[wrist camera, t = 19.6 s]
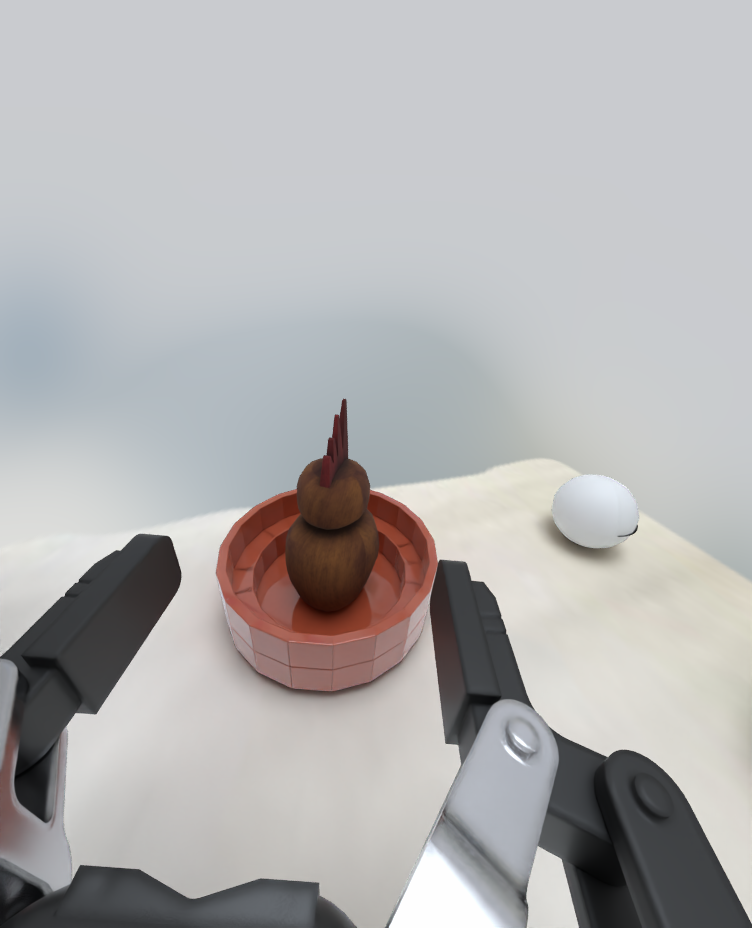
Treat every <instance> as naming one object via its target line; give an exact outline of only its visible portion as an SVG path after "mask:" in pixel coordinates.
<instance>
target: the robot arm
mask: <svg viewBox="0 0 752 928" xmlns="http://www.w3.org/2000/svg"><path fill="white" fill-rule="evenodd" d="M180 582H181V569H180V566H179V563H178V559H177V556H176V553H175V550H174V546H173V543H172V540H171V538H170V537H168V536H162V535H150V534H138V535H136V536H135V537H134V538H133V539H132V540H131V541H130V542H129V543H128V544H127V545H126V546H125V547H124V548H123V549H122V550H121V551H117V550H116V551H114V552H113V553H111V554H110V555H108V556H106V557H105V558H103V559H102V560H100V561H98V562H97V563H95V564H94V565H93V566H92V567H91V568H90V569H89V570H88V571H87V572H86V573H85V574H84V575H83V576H82V577H81V578H80V579H79V582H78V583H75V584H74V585H73V586H72V587H71V588H70V589H69V590H68V591H67V592H66V593H65V596H64V597H61V598H60V599H59V600H58V601H57V602H56V603H55V604H54V605H53V606H52V607H51V608H50V609H49V610H48V611H47V612H46V613H45V614H44V615H43V616H42V617H41V618H40V619H39V620H38V621H37V622H36V623H35V624H34V625H33V626H32V627H31V628H30V629H29V630H28V631H27V632H26V633H25V634H24V635H23V636H22V637H21V638H20V639H19V640H18V641H17V642H16V643H15V644H14V645H13V646H12V647H11V648H10V649H9V650H8V651H6V652H5V653H4V654H3V655H2V656H1V657H0V928H357V927H356V926H355V925H354V924H353V922H352V921H351V920H350V919H349V918H348V917H347V915H346V914H345V913H344V912H343V911H341V910H340V909H339V908H338V907H337V906H335V905H334V904H333V903H332V902H330V901H328V900H326V899H325V898H323V897H321V896H319V883H314V882H301V881H287V880H274V879H258V880H255V881H251V882H248V883H245V884H242V885H239V886H236V887H233V888H229V889H226V890H223V891H220V892H217V893H214V894H211V895H208V896H204V897H201V898H197V899H189V898H187V897H185V896H183V895H182V894H180V893H178V892H176V891H175V890H173V889H171V888H170V887H168V886H166V885H165V884H163V883H161V882H160V881H158V880H156V879H154V878H153V877H151V876H149V875H148V874H146V873H144V872H143V871H141V870H139V869H125V868H112V867H99V866H85V865H80V867H79V869H78V871H77V872H76V874H75V876H74V878H73V880H72V860H71V852H70V847H69V843H68V840H67V838H66V835H65V830H64V800H65V781H66V763H67V745H68V730H67V727H66V726H67V724H68V723H69V721H70V720H71V719H72V717H73V716H74V714H75V713H86V714H97V712H98V711H99V709H100V707H101V706H102V704H103V703H104V701H105V700H106V698H107V697H108V695H109V694H110V692H111V691H112V689H113V688H114V686H115V685H116V683H117V682H118V680H119V679H120V677H121V676H122V674H123V673H124V671H125V670H126V668H127V667H128V665H129V664H130V662H131V661H132V659H133V658H134V656H135V655H136V653H137V652H138V650H139V649H140V647H141V646H142V644H143V643H144V641H145V640H146V638H147V637H148V635H149V633H150V632H151V630H152V629H153V627H154V626H155V624H156V623H157V621H158V620H159V618H160V617H161V615H162V614H163V612H164V611H165V609H166V608H167V606H168V605H169V603H170V602H171V600H172V599H173V597H174V596H175V594H176V593H177V591H178V588H179V586H180ZM430 616H431V625H432V633H433V642H434V650H435V659H436V667H437V675H438V684H439V692H440V701H441V709H442V717H443V726H444V734H445V743H446V744H456V745H459V752H460V759H461V767H460V769H459V771H458V773H457V775H456V777H455V779H454V782H453V784H452V786H451V788H450V790H449V792H448V794H447V797H446V799H445V801H444V803H443V805H442V807H441V809H440V812H439V814H438V816H437V818H436V820H435V822H434V824H433V827H432V829H431V831H430V833H429V835H428V837H427V839H426V842H425V844H424V846H423V848H422V850H421V852H420V854H419V856H418V859H417V861H416V863H415V865H414V867H413V869H412V871H411V873H410V875H409V877H408V879H407V881H406V884H405V886H404V888H403V890H402V892H401V894H400V896H399V899H398V901H397V903H396V905H395V907H394V909H393V911H392V914H391V916H390V918H389V920H388V922H387V924H386V926H385V928H526V927H527V920H528V904H527V900H526V892H527V886H528V881H529V877H530V873H531V869H532V865H533V861H534V857H535V854H536V850H537V846H539V847H541V848H543V849H545V850H546V851H548V852H550V853H552V854H554V855H556V856H557V857H559V858H561V859H562V862H563V866H564V870H565V874H566V878H567V881H568V885H569V889H570V893H571V897H572V901H573V905H574V909H575V913H576V917H577V921H578V925H579V928H752V924H751V922H750V920H749V918H748V916H747V914H746V912H745V910H744V908H743V906H742V904H741V902H740V901H739V899H738V897H737V895H736V893H735V891H734V889H733V887H732V885H731V883H730V881H729V879H728V878H727V876H726V874H725V872H724V870H723V868H722V866H721V864H720V862H719V860H718V858H717V856H716V854H715V853H714V851H713V849H712V847H711V845H710V843H709V841H708V839H707V837H706V835H705V833H704V831H703V829H702V828H701V826H700V824H699V822H698V820H697V818H696V816H695V814H694V812H693V810H692V808H691V806H690V805H689V803H688V801H687V799H686V798H685V796H684V794H683V793H682V791H681V790H680V788H679V787H678V786H677V784H676V783H675V782H674V781H673V780H672V778H671V777H670V776H669V775H668V774H667V773H666V772H665V771H664V770H663V769H662V768H660V767H659V766H658V765H657V764H656V763H654V762H653V761H651V760H650V759H648V758H647V757H645V756H643V755H641V754H639V753H637V752H634V751H630V750H618V751H616V752H614V753H612V754H611V755H610V756H609V757H606V756H604V755H601V754H599V753H597V752H595V751H592V750H590V749H588V748H586V747H584V746H581V745H579V744H577V743H575V742H572V741H570V740H568V739H566V738H564V737H562V736H561V735H559V734H558V733H556V732H555V731H554V730H552V729H551V728H550V727H549V726H548V725H547V723H546V722H545V721H544V720H543V718H542V717H541V716H540V715H539V714H538V713H537V712H536V711H535V710H534V708H533V706H532V705H531V703H530V701H529V698H528V696H527V693H526V690H525V687H524V684H523V681H522V678H521V675H520V672H519V669H518V666H517V662H516V659H515V656H514V653H513V650H512V647H511V644H510V641H509V638H508V635H506V629H505V625H504V622H503V619H501V613H500V610H499V607H498V604H497V601H496V598H495V596H494V595H493V594H492V593H491V591H490V590H489V589H488V587H487V586H486V585H485V583H484V582H478V581H471V577H470V573H469V570H468V566H467V564H466V562H462V561H450V560H440V561H439V563H438V566H437V571H436V575H435V579H434V583H433V587H432V591H431V597H430Z"/></svg>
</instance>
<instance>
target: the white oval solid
mask: <svg viewBox="0 0 752 928" xmlns="http://www.w3.org/2000/svg"><path fill="white" fill-rule="evenodd" d="M552 514H553V519H554V522H555V524H556V526H557V527H558V528H559V530H560V531H561V532H562V533H563V535H564V536H565V537H567V538H568V539H569V540H571V541H573V542H574V543H576V544H579V545H581V546H584V547H589V548H609V547H612V546H615V545H617V544H619V543H621V542H624V541H625V540H626V539H627V538H628V537H629V536H630V535H632V534H634V533H635V532H636V531H637V528H638V525H637V523H638V520H639V512H638V505H637V501H636V499H635V498H634V496H633V495H632V493H631V492H630V490H629V489H628V488H627V487H625V486H624V485H623V484H621V483H620V482H618V481H616V480H615V479H612V478H610V477H607V476H602V475H594V474H587V475H583V476H579V477H575V478H572V479H571V480H569V481H568V482H566V483H565V484H564V485H562V486H561V487H560V488H559V489H558V491H557V492H556V494H555V495H554V500H553V505H552Z"/></svg>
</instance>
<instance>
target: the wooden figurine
mask: <svg viewBox="0 0 752 928" xmlns="http://www.w3.org/2000/svg"><path fill="white" fill-rule="evenodd" d="M347 434H348V433H347V405H346V399H343V400H342V406H341V412H340V419H339V415H335V418H334V427H333V435H332V438H329V440H328V447H327V456H325V455H324V456H323V458H322V459H318V460H315V461H312V462H311V463H310V464H308V465H307V466H306V468H305V469H304V471H303V472H302V474H301V475H300V477H299V480H298V484H297V504H298V509H299V511H300V513H301V514H300V515H299V516H298V518H297V519H296V520H295V521H294V523H293V524H292V525H291V527H290V528H289V530H288V534H287V537H286V548H285V561H286V567H287V572H288V575H289V578H290V581H291V583H292V584H293V586H294V588H295V589H296V591H297V593H298V594H299V596H300V597H301V599H302V600H303V601H304V602H305V603H307V604H308V605H310V606H311V607H313V608H314V609H317V610H321V611H324V612H329V611H338V610H340V609H342V608H344V607H345V606H347V605H349V604H350V603H351V602H352V601H354V600H355V599H356V598H357V597H358V595H359V593H360V592H361V590H362V589H363V587H364V585H365V584H366V582H367V580H368V578H369V576H370V573H371V571H372V569H373V566H374V564H375V562H376V559H377V557H378V551H379V536H378V530H377V527H376V523H375V520H374V517H373V515H372V513H371V512H370V511H369V510H368V509H367V506H368V502H369V496H370V483H369V480H368V477H367V474H366V471H365V470H364V469H363V467H361V466H360V465H359V464H358V463H357V462H355V461H353V460H350V459H348V435H347Z"/></svg>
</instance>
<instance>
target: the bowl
mask: <svg viewBox="0 0 752 928" xmlns="http://www.w3.org/2000/svg"><path fill="white" fill-rule="evenodd" d="M367 509H368V510H369V511H370V512H371V513H372V515H373V517H374V520H375V523H376V527H377V530H378V536H379V551H378V557H377V559H376V562H375V564H374V566H373V569H372V571H371V573H370V576H369V578H368V580H367V582H366V584H365V585H364V587H363V589H362V590H361V592H360V593H359V595H358V597H357V598H356V599H355V600H354V601H352V602H351V603H350V604H349V605H347V606H345V607H344V608H342V609H340V610H338V611H329V612H324V611H321V610H317V609H314V608H313V607H311V606H310V605H308V604H307V603H305V602H304V601H303V600H302V599H301V597H300V596H299V594H298V593H297V591H296V589H295V588H294V586H293V584H292V583H291V581H290V578H289V575H288V572H287V567H286V561H285V548H286V537H287V534H288V530H289V528H290V527H291V525H292V524H293V523H294V521H295V520H296V519H297V518H298V516H299V515H300V514H301V513H300V511H299V509H298V504H297V489H295V490H291V491H288V492H284V493H281V494H278V495H276V496H274V497H272V498H270V499H268V500H266V501H264V502H262V503H260V504H258V505H256V506H255V507H253V508H252V509H251V510H250V511H249V512H247V513H246V514H245V515H244V516H243V517H242V518H240V519H239V520H238V521H237V522H236V523H235V524H234V525H233V527H232V528H231V530H230V531H229V533H228V535H227V536H226V538H225V539H224V541H223V543H222V544H221V546H220V550H219V556H218V562H217V569H216V576H217V581H218V585H219V589H220V593H221V598H222V602H223V606H224V610H225V615H226V619H227V622H228V625H229V629H230V632H231V635H232V638H233V641H234V644H235V647H236V649H237V650H238V651H239V652H240V653H241V654H242V655H243V656H244V657H245V659H246V660H247V661H248V662H249V663H250V664H251V665H252V666H253V667H254V669H255V670H256V671H258V672H259V673H260V674H262V675H264V676H267V677H269V678H271V679H273V680H275V681H277V682H279V683H282V684H284V685H286V686H288V687H290V688H294V689H306V690H319V691H337V690H341V689H344V688H348V687H352V686H356V685H359V684H363V683H367V682H370V681H372V680H374V679H375V678H377V677H378V676H380V675H381V674H383V673H384V672H386V671H387V670H389V669H390V668H392V667H393V666H395V665H396V664H398V663H399V662H401V660H403V658H404V657H405V655H406V654H407V653H408V651H409V650H410V649H411V647H412V646H413V645H414V643H415V642H416V640H417V639H418V638H419V636H420V634H421V632H422V628H423V624H424V621H425V617H426V613H427V609H428V605H429V601H430V597H431V591H432V587H433V583H434V579H435V575H436V571H437V566H438V561H437V555H436V549H435V543H434V539H433V538H432V536H431V534H430V533H429V531H428V530H427V528H426V526H425V525H424V523H423V521H422V520H421V519H420V518H419V517H418V516H417V515H415V514H414V513H413V512H412V511H411V510H410V509H409V508H407V507H406V506H405V505H403V504H402V503H400V502H398V501H396V500H394V499H392V498H390V497H388V496H386V495H384V494H382V493H379V492H376V491H372V490H370V496H369V502H368V506H367Z"/></svg>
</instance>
